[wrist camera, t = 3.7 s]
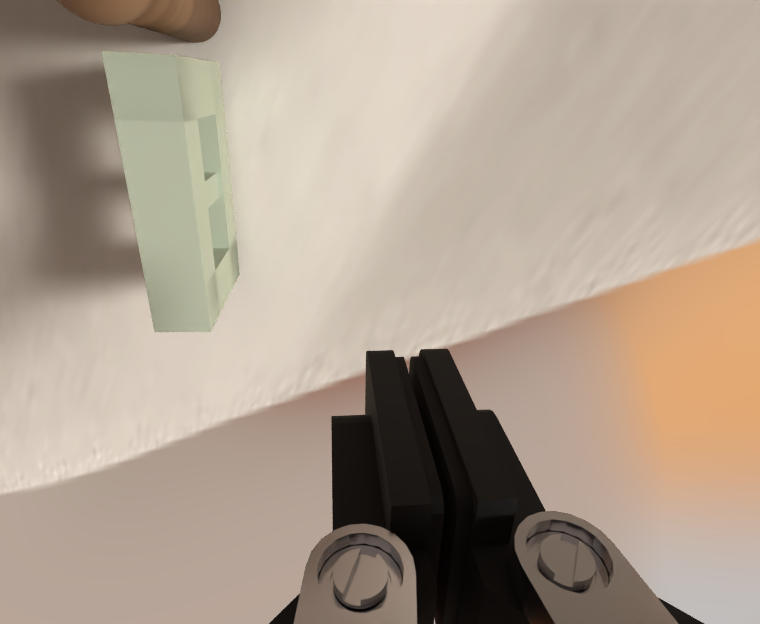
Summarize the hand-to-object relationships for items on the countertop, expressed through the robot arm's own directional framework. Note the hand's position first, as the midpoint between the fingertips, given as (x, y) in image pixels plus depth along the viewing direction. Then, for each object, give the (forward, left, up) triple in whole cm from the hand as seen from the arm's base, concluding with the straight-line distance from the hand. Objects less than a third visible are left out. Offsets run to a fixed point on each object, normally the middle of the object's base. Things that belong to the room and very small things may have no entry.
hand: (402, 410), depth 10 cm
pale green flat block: (+7, 0, -14) cm, 16 cm away
